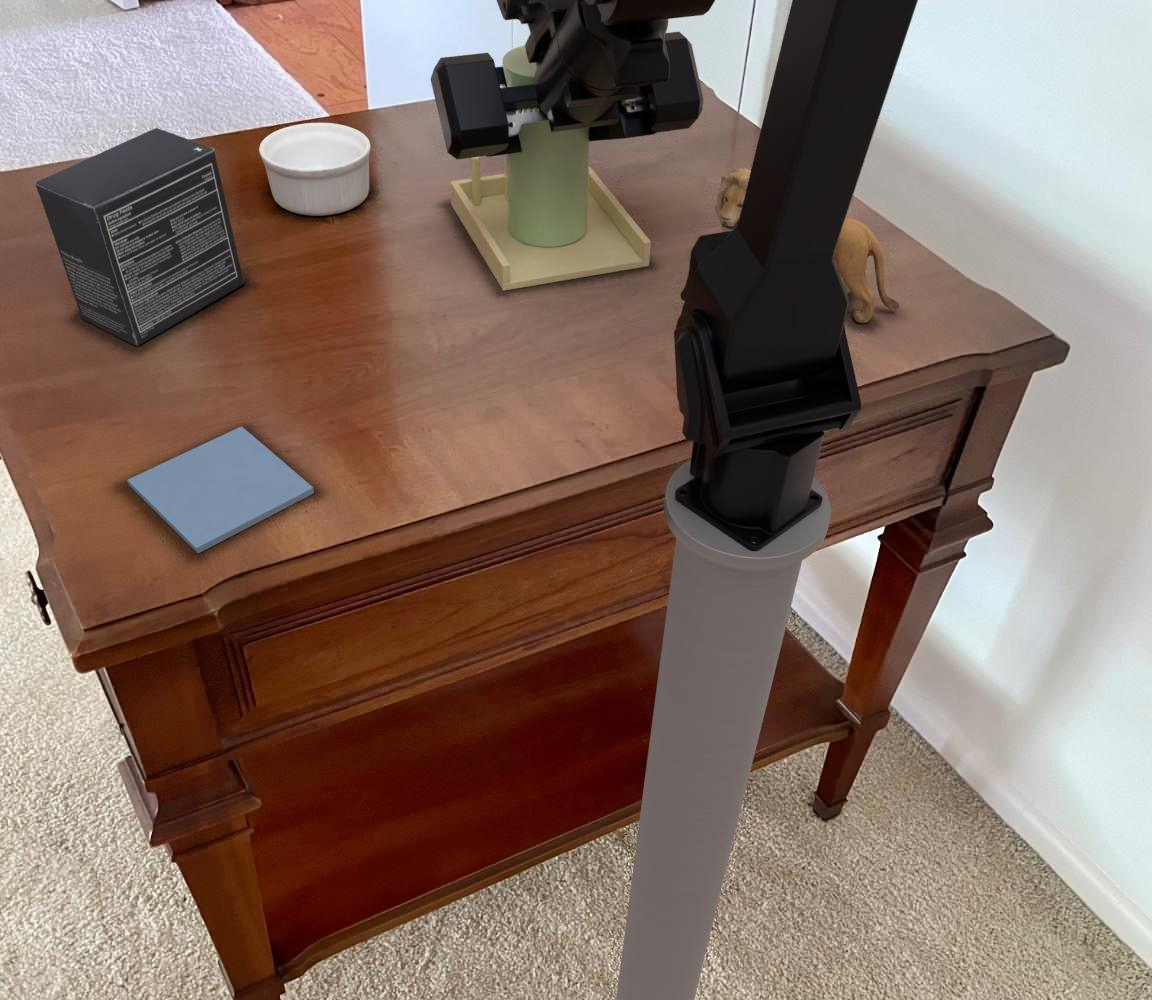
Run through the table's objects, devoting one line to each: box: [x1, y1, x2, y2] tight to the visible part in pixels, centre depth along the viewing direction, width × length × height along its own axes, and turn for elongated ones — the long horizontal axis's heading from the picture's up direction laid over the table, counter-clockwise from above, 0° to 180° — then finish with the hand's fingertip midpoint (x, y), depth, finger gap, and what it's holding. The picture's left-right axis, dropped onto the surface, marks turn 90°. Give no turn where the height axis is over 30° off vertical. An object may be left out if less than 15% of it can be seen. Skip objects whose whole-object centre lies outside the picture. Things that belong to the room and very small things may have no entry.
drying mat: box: [126, 426, 315, 554], centre depth 69 cm, size 8×8×1 cm
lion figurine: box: [714, 167, 900, 324], centre depth 83 cm, size 15×5×9 cm, turn 73°
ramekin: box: [258, 122, 371, 217], centre depth 93 cm, size 9×9×4 cm
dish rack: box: [449, 155, 652, 291], centre depth 90 cm, size 14×12×5 cm
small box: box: [34, 127, 245, 347], centre depth 79 cm, size 11×6×10 cm, turn 146°
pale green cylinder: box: [501, 44, 590, 247], centre depth 86 cm, size 6×6×13 cm
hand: (541, 140), depth 87 cm, fingers closed on pale green cylinder, 6 cm apart
